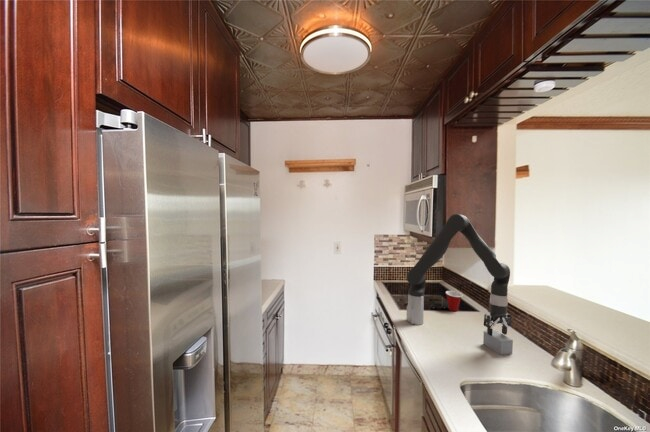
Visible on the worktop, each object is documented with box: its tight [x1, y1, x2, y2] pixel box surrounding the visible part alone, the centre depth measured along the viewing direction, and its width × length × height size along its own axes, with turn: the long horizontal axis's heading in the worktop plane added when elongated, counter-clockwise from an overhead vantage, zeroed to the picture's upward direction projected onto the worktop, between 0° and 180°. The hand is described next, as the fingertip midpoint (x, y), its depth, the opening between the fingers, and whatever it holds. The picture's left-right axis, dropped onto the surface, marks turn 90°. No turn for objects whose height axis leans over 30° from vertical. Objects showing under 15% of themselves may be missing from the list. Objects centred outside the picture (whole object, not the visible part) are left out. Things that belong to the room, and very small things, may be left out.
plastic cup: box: [445, 290, 463, 312], centre depth 187 cm, size 11×11×12 cm
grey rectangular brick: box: [482, 329, 514, 356], centre depth 134 cm, size 7×11×7 cm, turn 12°
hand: (497, 334), depth 134 cm, fingers open, 8 cm apart
